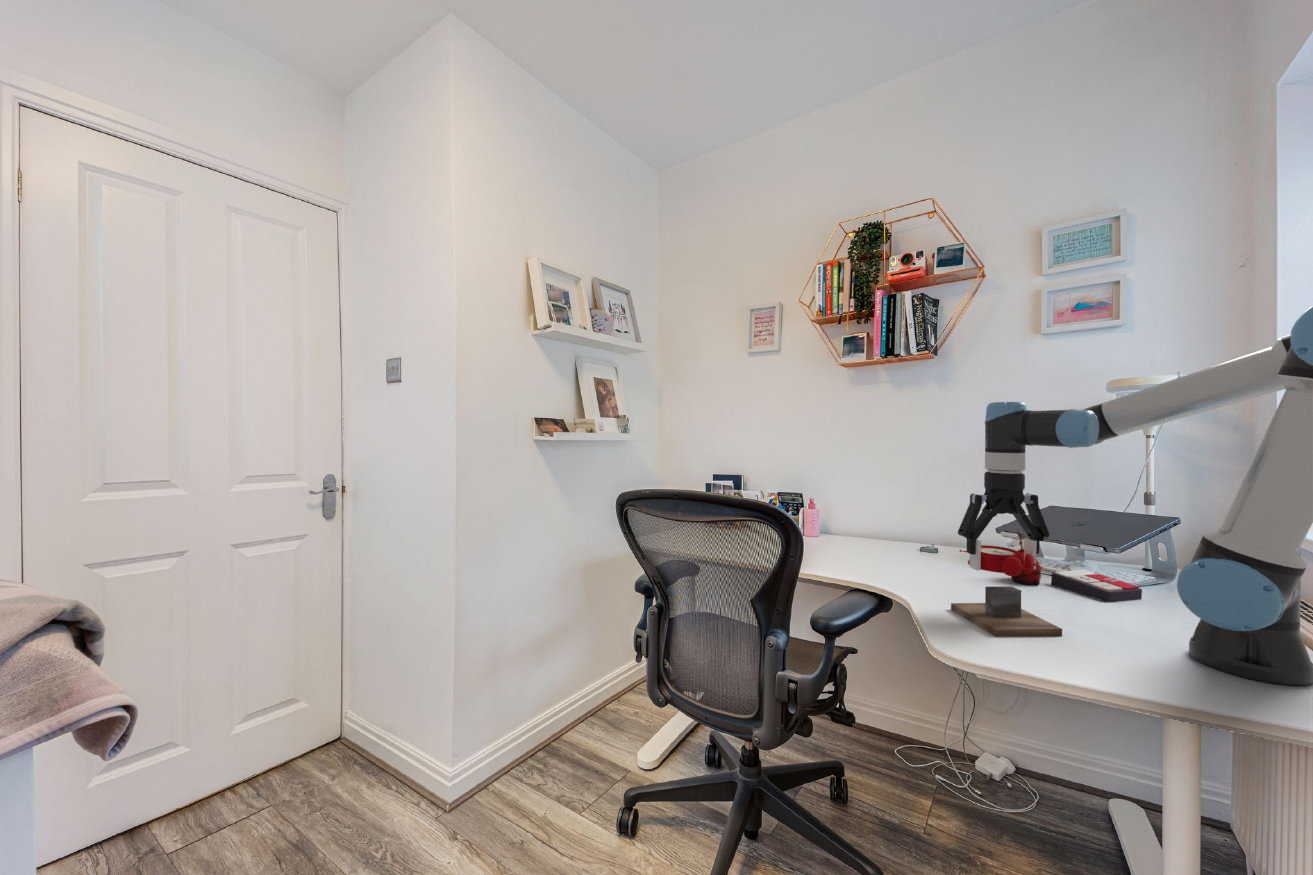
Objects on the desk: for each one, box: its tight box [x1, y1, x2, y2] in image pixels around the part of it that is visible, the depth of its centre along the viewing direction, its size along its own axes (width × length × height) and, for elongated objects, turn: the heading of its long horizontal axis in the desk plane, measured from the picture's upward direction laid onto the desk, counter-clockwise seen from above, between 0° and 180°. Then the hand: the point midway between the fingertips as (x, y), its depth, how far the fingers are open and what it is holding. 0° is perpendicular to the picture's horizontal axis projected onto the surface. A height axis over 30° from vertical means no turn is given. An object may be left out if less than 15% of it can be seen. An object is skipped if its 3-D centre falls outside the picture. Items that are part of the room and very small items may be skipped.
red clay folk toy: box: [1010, 529, 1042, 586], centre depth 145 cm, size 8×7×15 cm
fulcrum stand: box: [950, 585, 1063, 638], centre depth 116 cm, size 16×14×8 cm
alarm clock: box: [959, 544, 1044, 577], centre depth 116 cm, size 10×6×15 cm
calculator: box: [1050, 569, 1143, 603], centre depth 137 cm, size 11×4×15 cm
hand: (1002, 568), depth 116 cm, fingers closed on alarm clock, 12 cm apart
